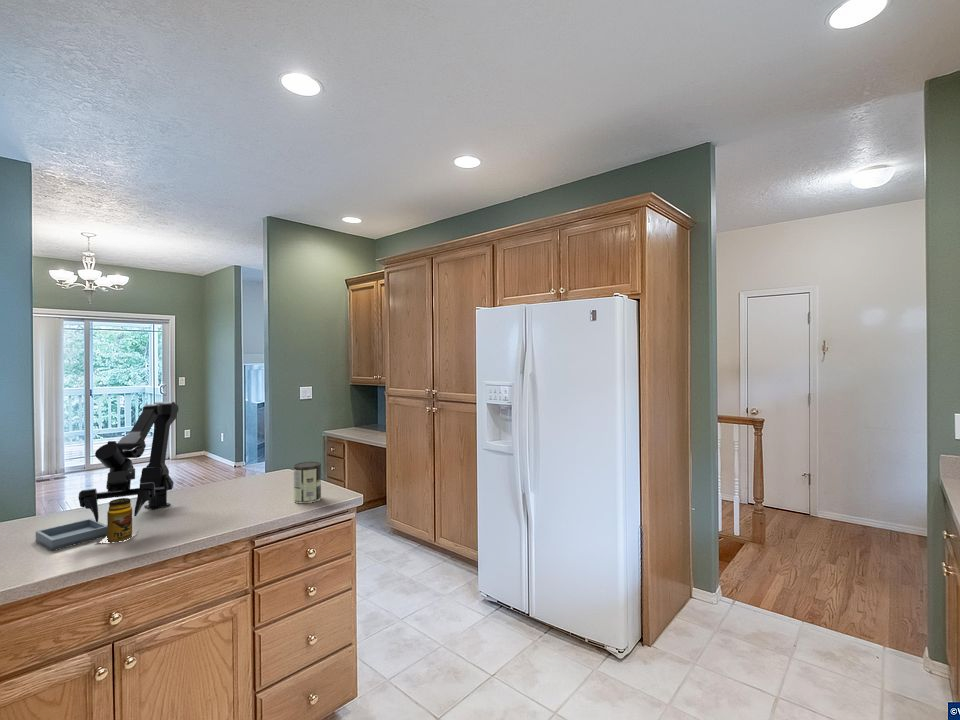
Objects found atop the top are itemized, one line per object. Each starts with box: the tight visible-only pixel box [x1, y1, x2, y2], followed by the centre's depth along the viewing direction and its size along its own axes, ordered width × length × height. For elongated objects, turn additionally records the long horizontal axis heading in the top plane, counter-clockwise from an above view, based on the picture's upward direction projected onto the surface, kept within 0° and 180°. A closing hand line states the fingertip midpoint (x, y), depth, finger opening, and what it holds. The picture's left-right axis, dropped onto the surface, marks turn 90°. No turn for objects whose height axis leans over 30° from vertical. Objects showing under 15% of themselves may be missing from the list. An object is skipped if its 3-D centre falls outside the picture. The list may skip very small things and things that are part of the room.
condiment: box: [100, 497, 139, 545], centre depth 142 cm, size 7×8×12 cm
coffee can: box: [292, 461, 322, 504], centre depth 182 cm, size 10×10×14 cm
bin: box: [35, 518, 107, 552], centre depth 142 cm, size 14×14×3 cm
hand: (116, 518), depth 141 cm, fingers open, 9 cm apart
